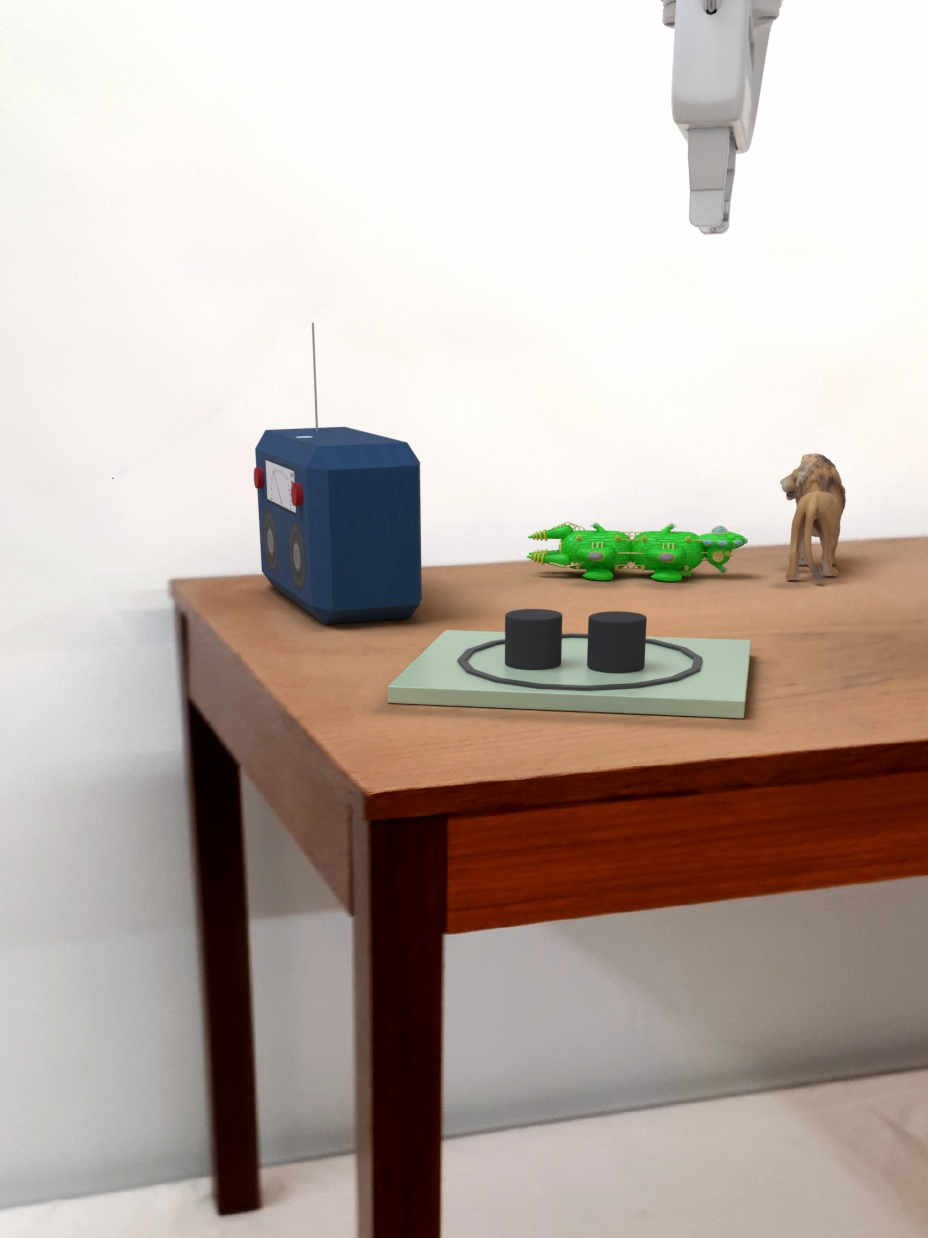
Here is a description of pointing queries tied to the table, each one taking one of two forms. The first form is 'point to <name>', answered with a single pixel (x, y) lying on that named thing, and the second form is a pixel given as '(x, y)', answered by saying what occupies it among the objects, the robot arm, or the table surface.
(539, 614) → the eye dot
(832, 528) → the lion figurine
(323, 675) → the table surface
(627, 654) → the eye dot
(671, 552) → the green toy spaceship
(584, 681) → the board
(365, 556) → the radio
